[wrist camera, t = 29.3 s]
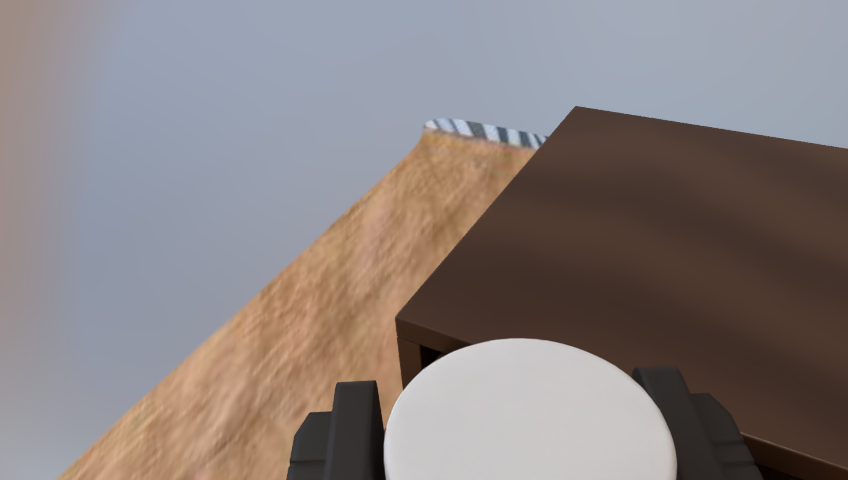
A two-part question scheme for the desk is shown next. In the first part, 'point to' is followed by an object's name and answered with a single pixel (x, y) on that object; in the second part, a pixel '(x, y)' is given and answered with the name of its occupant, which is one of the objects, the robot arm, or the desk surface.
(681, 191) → the cabinet
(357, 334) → the desk surface
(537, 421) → the pill bottle
